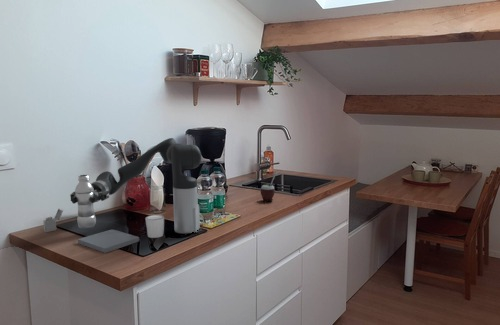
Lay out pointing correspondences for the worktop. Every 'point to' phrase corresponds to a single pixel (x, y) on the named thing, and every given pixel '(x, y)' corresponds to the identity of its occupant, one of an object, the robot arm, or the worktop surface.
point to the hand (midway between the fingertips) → (82, 200)
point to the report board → (108, 240)
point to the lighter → (52, 222)
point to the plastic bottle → (85, 202)
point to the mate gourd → (268, 191)
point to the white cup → (155, 226)
